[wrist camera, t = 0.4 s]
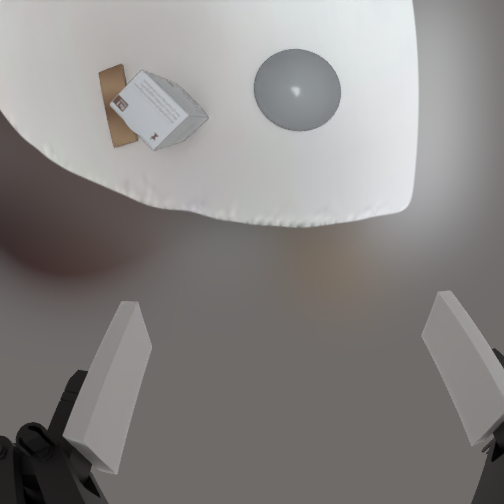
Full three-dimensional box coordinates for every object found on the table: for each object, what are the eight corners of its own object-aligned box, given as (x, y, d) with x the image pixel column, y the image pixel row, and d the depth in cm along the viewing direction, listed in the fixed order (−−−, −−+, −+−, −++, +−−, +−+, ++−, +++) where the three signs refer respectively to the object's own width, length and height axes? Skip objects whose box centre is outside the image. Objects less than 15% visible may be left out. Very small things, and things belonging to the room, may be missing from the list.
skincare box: (210, 117, 33) (195, 114, 22) (182, 143, 34) (155, 154, 23) (175, 81, 31) (144, 64, 20) (147, 108, 32) (106, 105, 21)
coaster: (247, 56, 30) (247, 55, 30) (330, 47, 30) (332, 46, 29) (263, 136, 34) (263, 137, 34) (345, 125, 34) (346, 125, 33)
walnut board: (101, 73, 30) (98, 72, 29) (122, 65, 30) (120, 64, 29) (116, 147, 34) (113, 147, 33) (138, 140, 34) (136, 140, 33)
